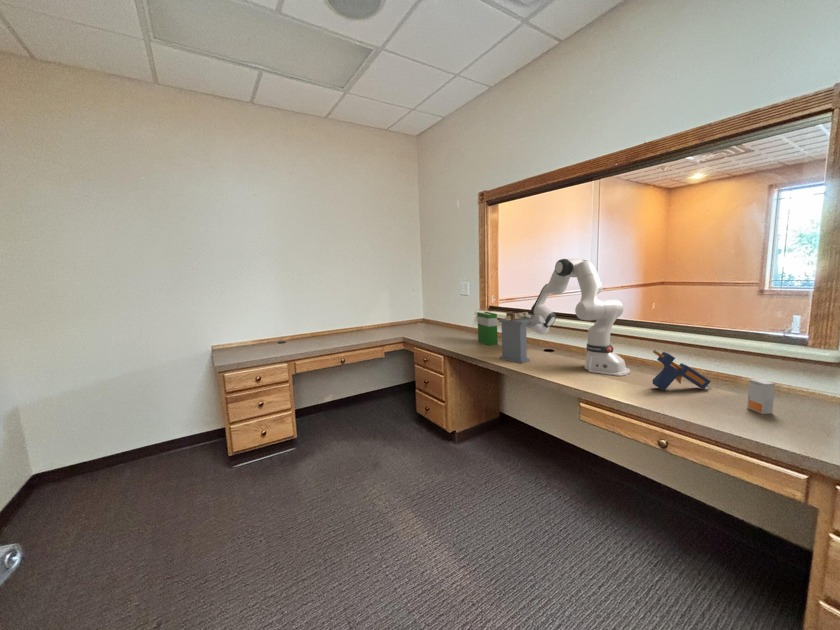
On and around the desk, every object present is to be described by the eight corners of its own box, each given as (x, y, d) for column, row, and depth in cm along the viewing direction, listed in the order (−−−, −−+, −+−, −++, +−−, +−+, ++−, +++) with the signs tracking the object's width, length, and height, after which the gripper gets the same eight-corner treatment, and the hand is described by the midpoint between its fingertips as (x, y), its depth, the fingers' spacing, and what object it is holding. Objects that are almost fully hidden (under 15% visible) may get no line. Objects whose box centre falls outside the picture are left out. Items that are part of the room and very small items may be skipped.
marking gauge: (523, 315, 227) (523, 308, 227) (529, 316, 224) (529, 308, 223) (504, 319, 215) (504, 312, 214) (511, 320, 211) (511, 312, 210)
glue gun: (695, 411, 157) (718, 386, 154) (641, 376, 155) (663, 349, 152) (685, 405, 163) (707, 380, 160) (633, 371, 161) (655, 345, 158)
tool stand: (529, 360, 216) (529, 320, 213) (522, 363, 211) (521, 321, 208) (507, 356, 229) (506, 318, 226) (499, 358, 224) (498, 319, 221)
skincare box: (746, 408, 135) (748, 378, 133) (756, 407, 135) (758, 378, 134) (762, 414, 129) (765, 384, 127) (773, 413, 129) (775, 383, 128)
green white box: (478, 341, 278) (477, 312, 275) (486, 340, 280) (485, 311, 277) (489, 346, 262) (488, 314, 258) (497, 344, 264) (496, 313, 261)
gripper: (545, 327, 222) (535, 319, 214) (518, 325, 238) (507, 317, 229) (548, 318, 223) (537, 310, 215) (521, 316, 239) (510, 308, 231)
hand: (522, 314), depth 222 cm, fingers closed on marking gauge, 2 cm apart
